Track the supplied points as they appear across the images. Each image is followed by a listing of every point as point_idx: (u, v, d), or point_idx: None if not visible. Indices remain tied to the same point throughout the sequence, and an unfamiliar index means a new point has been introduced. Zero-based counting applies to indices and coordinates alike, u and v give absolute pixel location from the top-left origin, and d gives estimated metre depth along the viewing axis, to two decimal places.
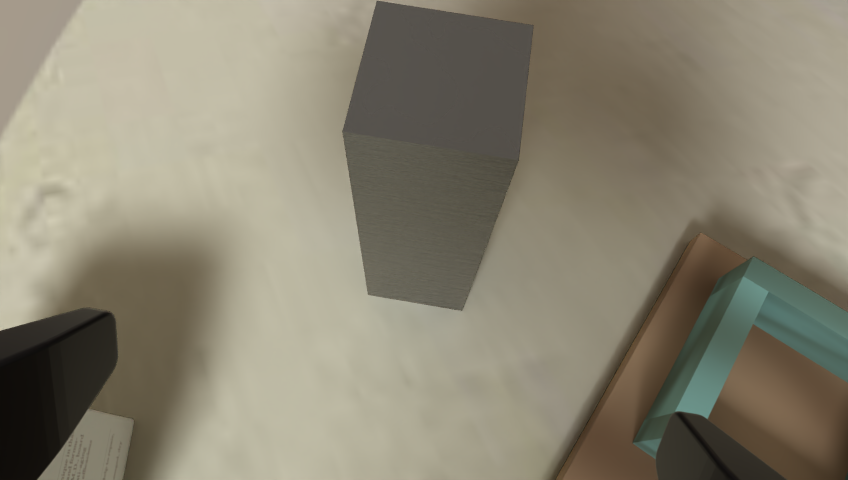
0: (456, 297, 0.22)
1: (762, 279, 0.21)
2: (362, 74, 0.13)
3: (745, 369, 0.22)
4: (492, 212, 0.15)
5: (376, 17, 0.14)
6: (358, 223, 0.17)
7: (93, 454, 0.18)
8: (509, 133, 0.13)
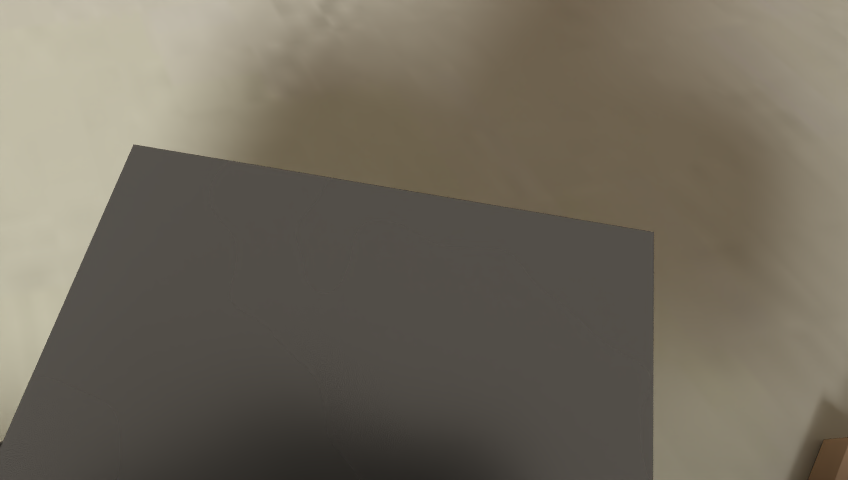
0: None
1: None
2: (6, 476, 0.03)
3: None
4: None
5: (116, 211, 0.04)
6: None
7: None
8: None
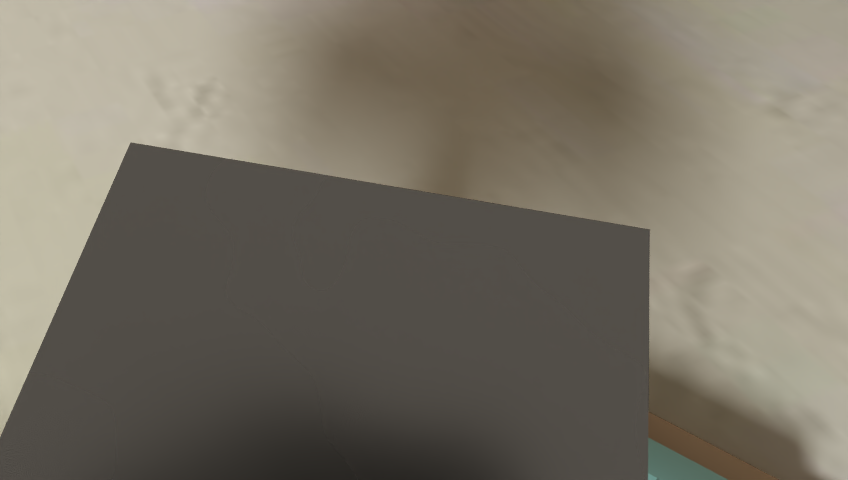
0: None
1: (648, 461, 0.17)
2: (3, 473, 0.03)
3: None
4: None
5: (113, 208, 0.04)
6: None
7: None
8: None
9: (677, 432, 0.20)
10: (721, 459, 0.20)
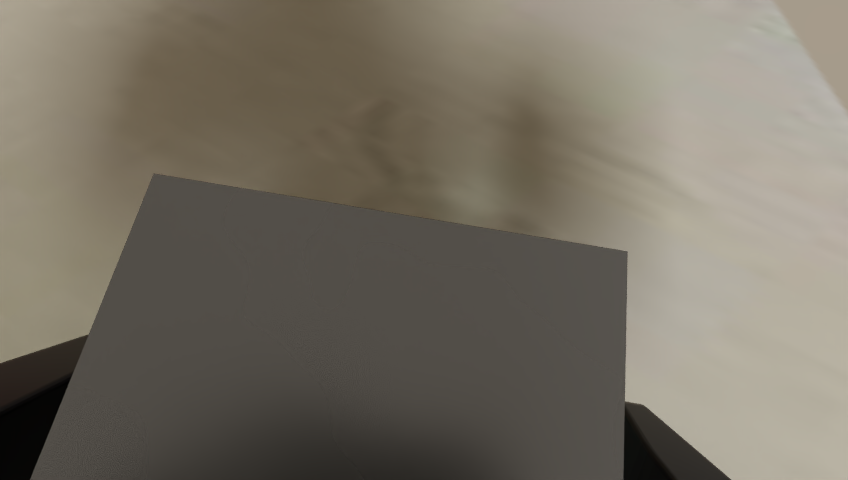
0: None
1: None
2: (48, 476, 0.04)
3: None
4: None
5: (140, 235, 0.04)
6: None
7: None
8: None
9: None
10: None
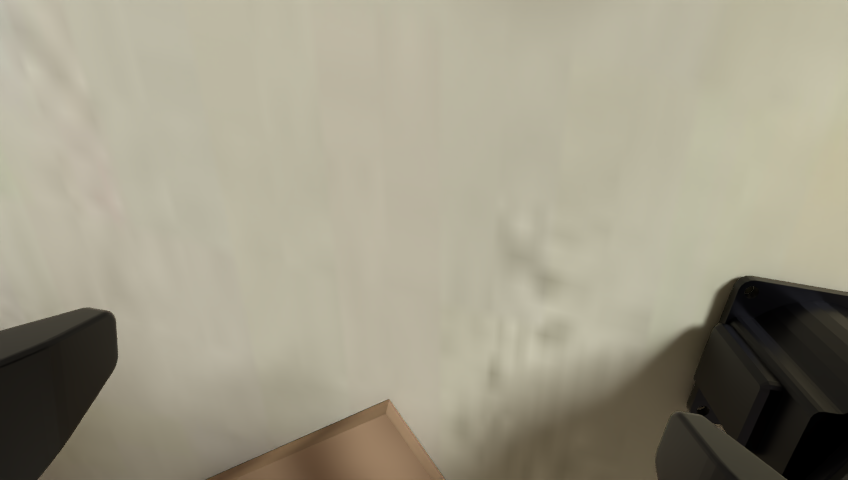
0: None
1: None
2: None
3: None
4: None
5: None
6: None
7: None
8: None
9: None
10: None
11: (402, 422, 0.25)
